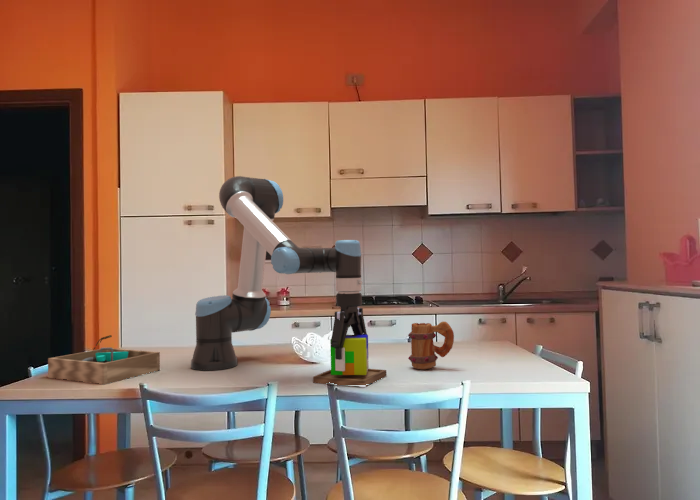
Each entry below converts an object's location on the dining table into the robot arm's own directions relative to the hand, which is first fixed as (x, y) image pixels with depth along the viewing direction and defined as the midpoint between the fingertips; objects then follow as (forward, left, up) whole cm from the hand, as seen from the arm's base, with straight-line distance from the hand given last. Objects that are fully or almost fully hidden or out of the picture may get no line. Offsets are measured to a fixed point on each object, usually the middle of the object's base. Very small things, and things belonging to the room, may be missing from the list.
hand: (350, 366), depth 157 cm
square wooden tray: (0, 0, -4) cm, 4 cm away
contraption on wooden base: (-76, -23, -4) cm, 80 cm away
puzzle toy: (0, 0, -2) cm, 2 cm away
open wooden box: (-77, -22, -4) cm, 80 cm away
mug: (+17, +23, -4) cm, 29 cm away
